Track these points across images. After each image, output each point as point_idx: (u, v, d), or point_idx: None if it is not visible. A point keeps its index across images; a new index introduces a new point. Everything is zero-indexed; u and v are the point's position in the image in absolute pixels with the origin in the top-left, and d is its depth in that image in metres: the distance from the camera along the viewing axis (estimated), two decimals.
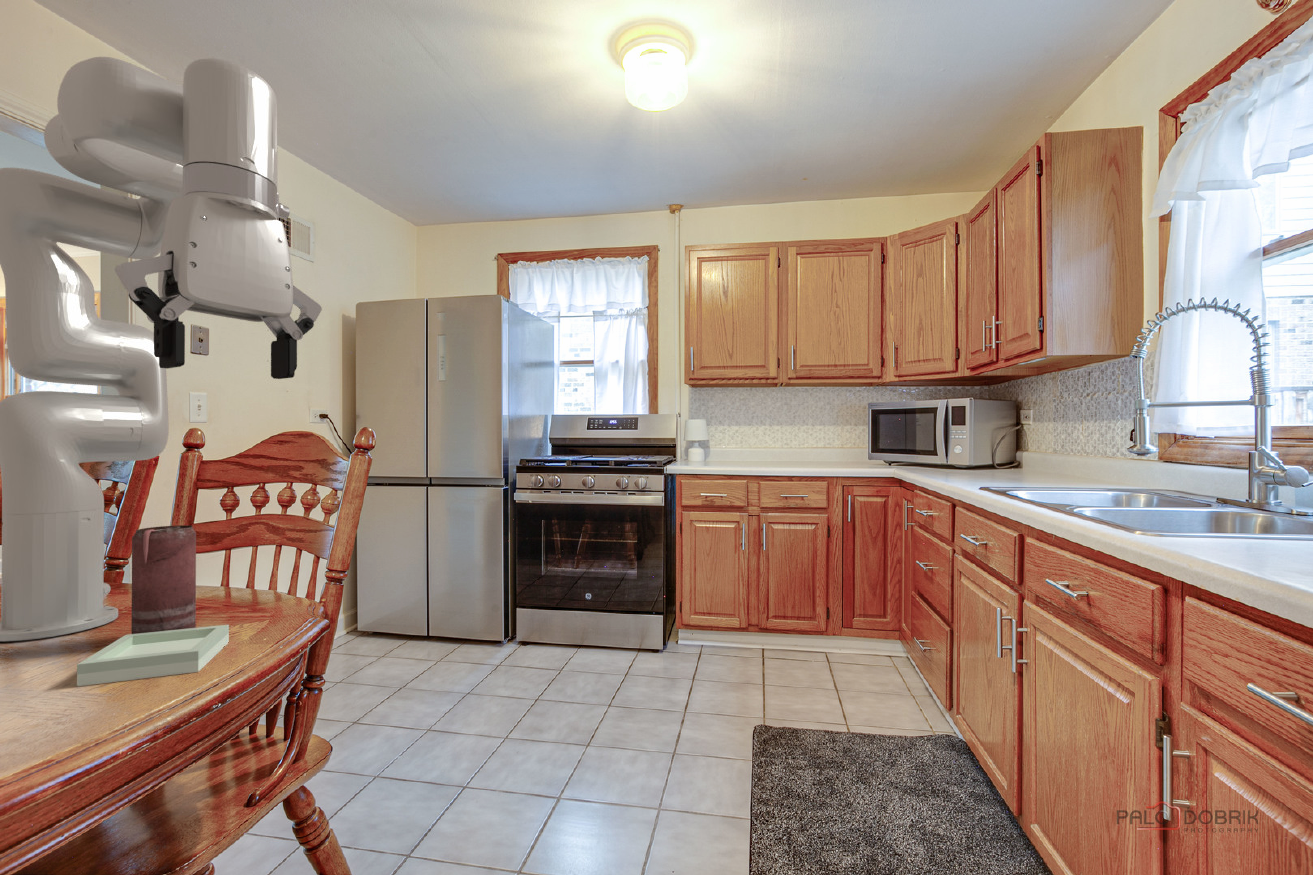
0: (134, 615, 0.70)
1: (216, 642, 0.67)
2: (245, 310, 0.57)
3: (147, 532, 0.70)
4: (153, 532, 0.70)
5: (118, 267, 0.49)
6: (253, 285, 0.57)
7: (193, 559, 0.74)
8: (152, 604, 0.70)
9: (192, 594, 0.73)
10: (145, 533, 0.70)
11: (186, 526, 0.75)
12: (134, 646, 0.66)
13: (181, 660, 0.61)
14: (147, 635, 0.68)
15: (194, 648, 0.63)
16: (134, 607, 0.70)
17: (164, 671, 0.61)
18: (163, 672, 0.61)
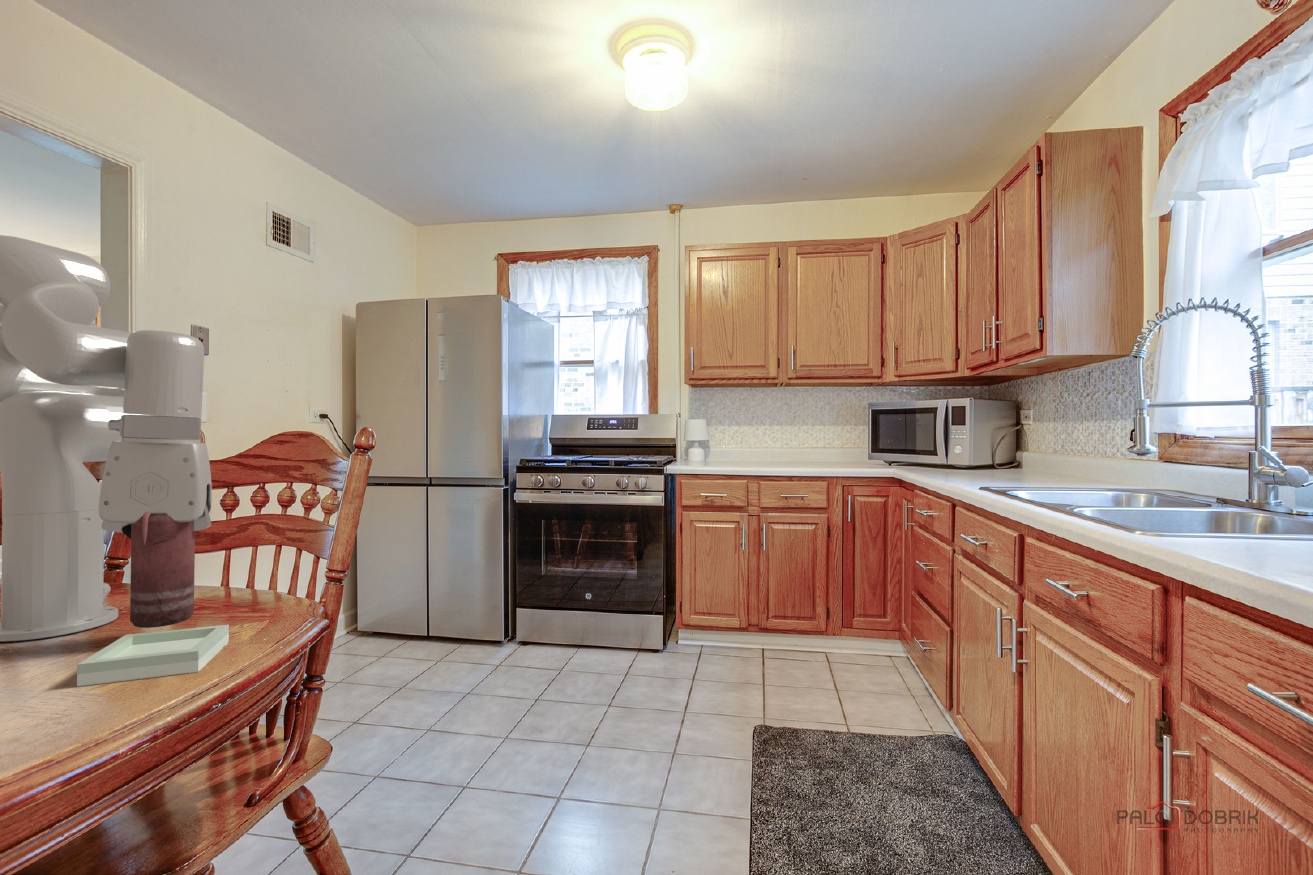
0: (133, 596, 0.70)
1: (216, 642, 0.67)
2: None
3: (146, 514, 0.70)
4: (152, 514, 0.70)
5: (208, 526, 0.75)
6: None
7: (192, 542, 0.74)
8: (151, 586, 0.70)
9: (191, 576, 0.74)
10: (144, 515, 0.70)
11: None
12: (134, 646, 0.66)
13: (181, 660, 0.61)
14: (147, 635, 0.68)
15: (194, 648, 0.63)
16: (133, 588, 0.70)
17: (164, 671, 0.61)
18: (163, 672, 0.61)
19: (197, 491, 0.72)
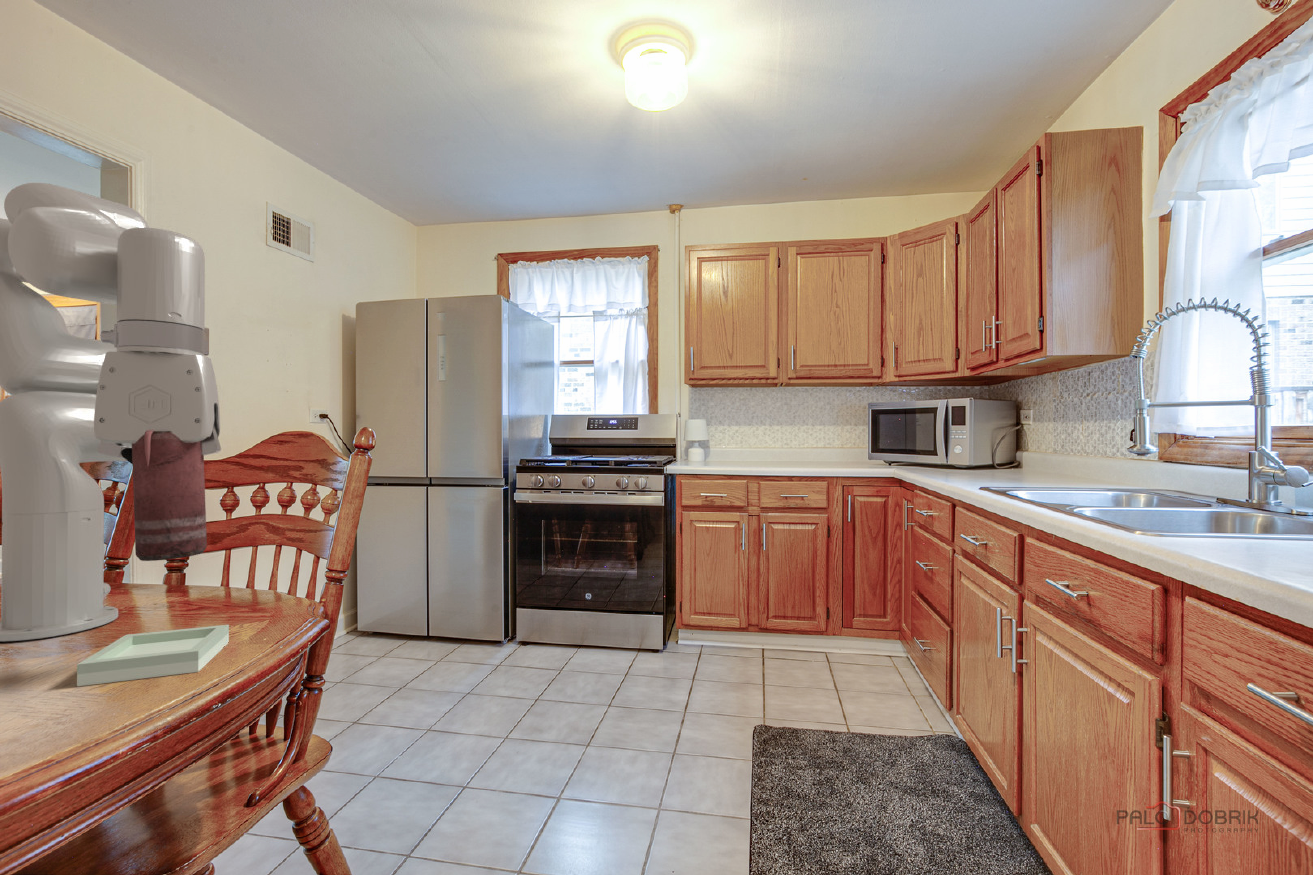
0: (137, 526, 0.62)
1: (216, 642, 0.67)
2: None
3: (148, 432, 0.62)
4: (155, 432, 0.62)
5: (218, 451, 0.67)
6: None
7: (201, 467, 0.66)
8: (157, 512, 0.62)
9: (202, 505, 0.66)
10: (146, 433, 0.62)
11: None
12: (134, 646, 0.66)
13: (181, 660, 0.61)
14: (147, 635, 0.68)
15: (194, 648, 0.63)
16: (137, 517, 0.62)
17: (164, 671, 0.61)
18: (163, 672, 0.61)
19: (204, 408, 0.65)
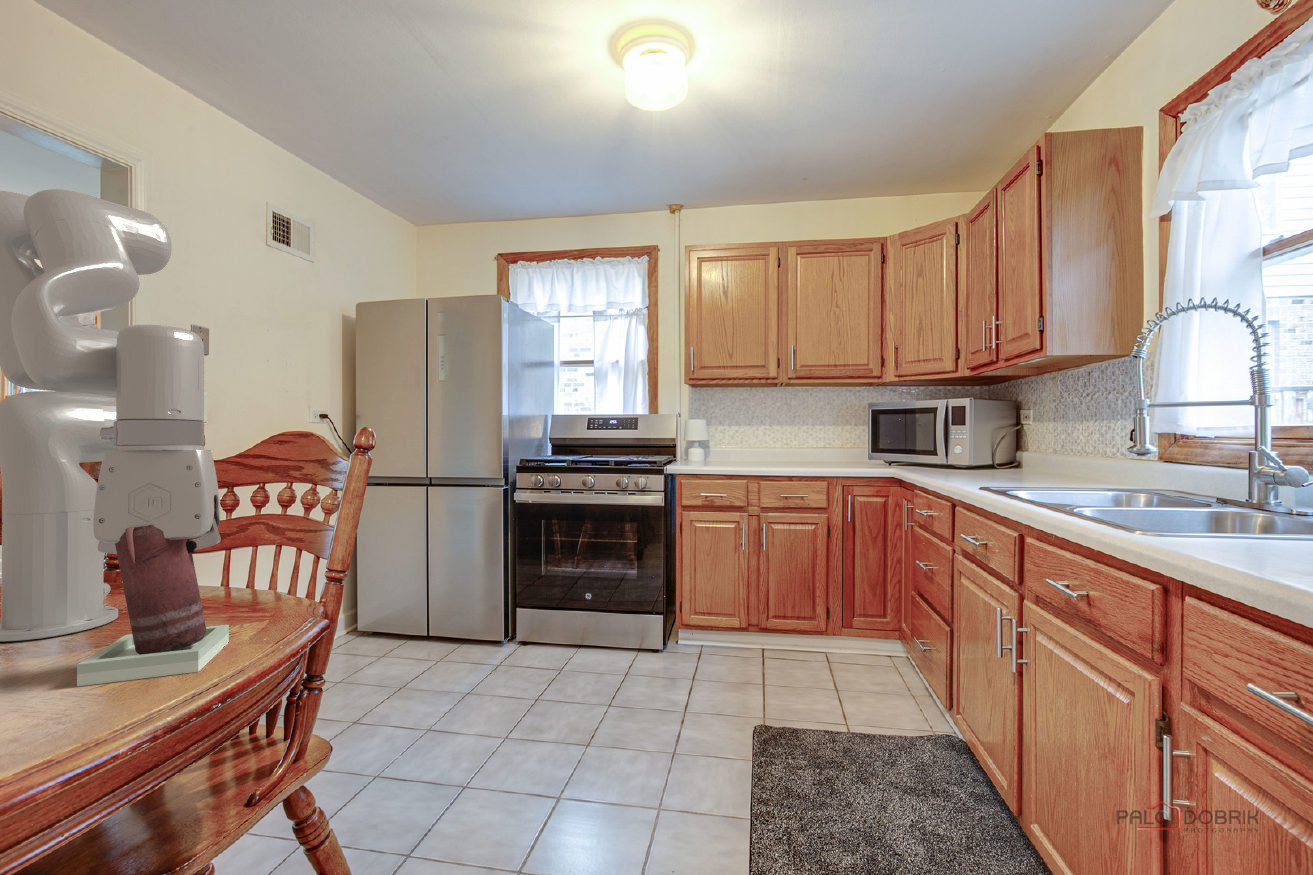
0: (133, 623, 0.62)
1: (216, 642, 0.67)
2: None
3: (129, 529, 0.61)
4: (136, 528, 0.62)
5: (217, 542, 0.67)
6: None
7: (189, 554, 0.65)
8: (151, 608, 0.62)
9: (195, 592, 0.65)
10: (127, 530, 0.61)
11: None
12: (134, 646, 0.66)
13: (181, 660, 0.61)
14: None
15: (194, 648, 0.63)
16: (131, 614, 0.62)
17: (164, 671, 0.61)
18: (163, 672, 0.61)
19: (204, 503, 0.64)
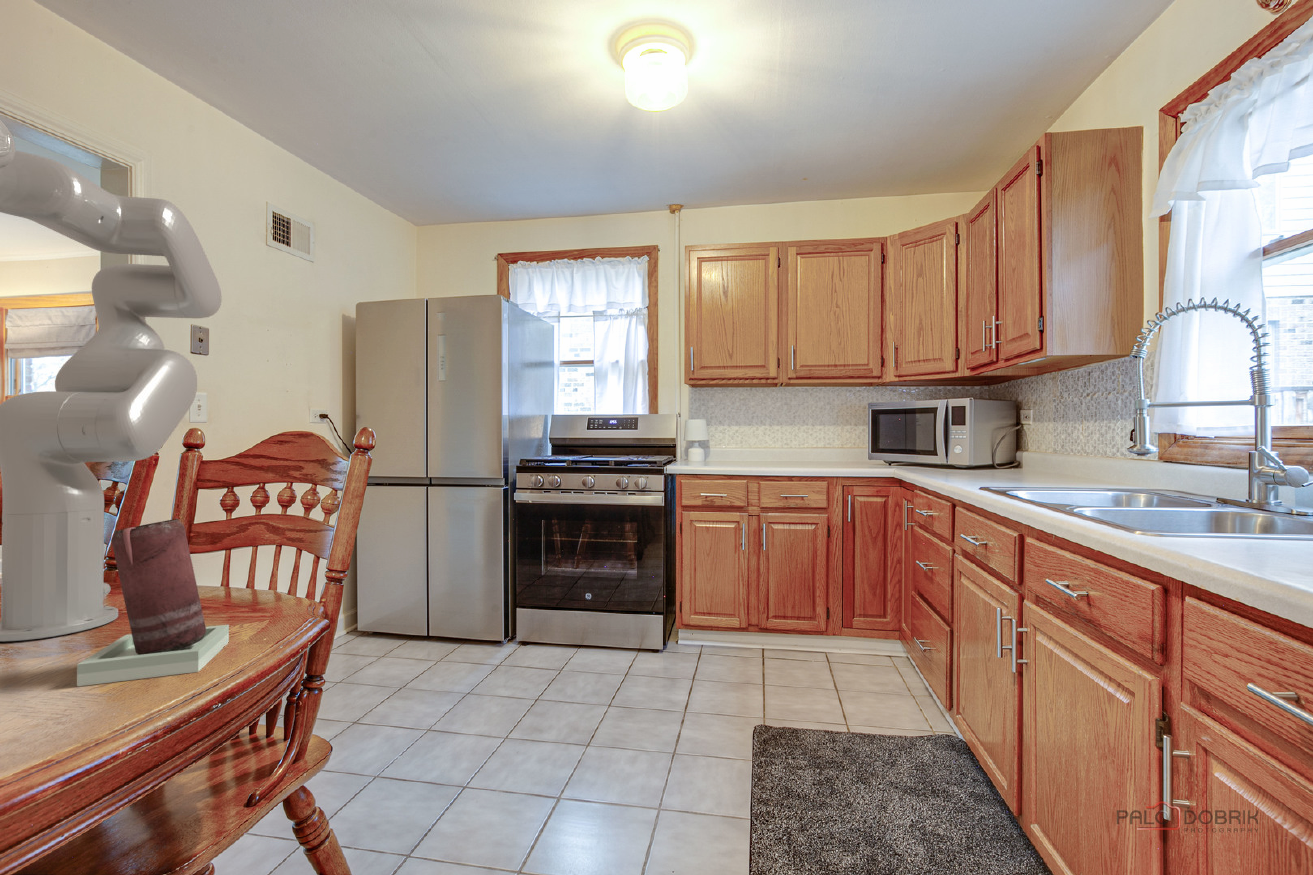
0: (132, 624, 0.62)
1: (216, 642, 0.67)
2: None
3: (126, 530, 0.61)
4: (133, 529, 0.62)
5: None
6: None
7: (187, 554, 0.65)
8: (150, 609, 0.62)
9: (194, 593, 0.65)
10: (124, 532, 0.61)
11: (172, 520, 0.67)
12: None
13: (181, 660, 0.61)
14: None
15: (194, 648, 0.63)
16: (130, 616, 0.62)
17: (164, 671, 0.61)
18: (163, 672, 0.61)
19: None
